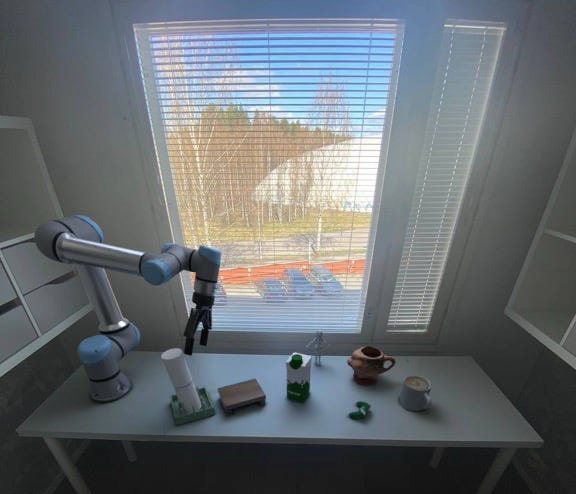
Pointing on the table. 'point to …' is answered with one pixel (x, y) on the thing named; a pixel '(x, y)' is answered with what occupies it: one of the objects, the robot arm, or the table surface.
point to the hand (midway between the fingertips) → (195, 349)
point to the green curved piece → (361, 410)
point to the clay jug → (368, 364)
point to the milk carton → (298, 376)
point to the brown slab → (241, 395)
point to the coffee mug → (416, 393)
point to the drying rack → (205, 403)
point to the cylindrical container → (181, 379)
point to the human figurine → (318, 345)
